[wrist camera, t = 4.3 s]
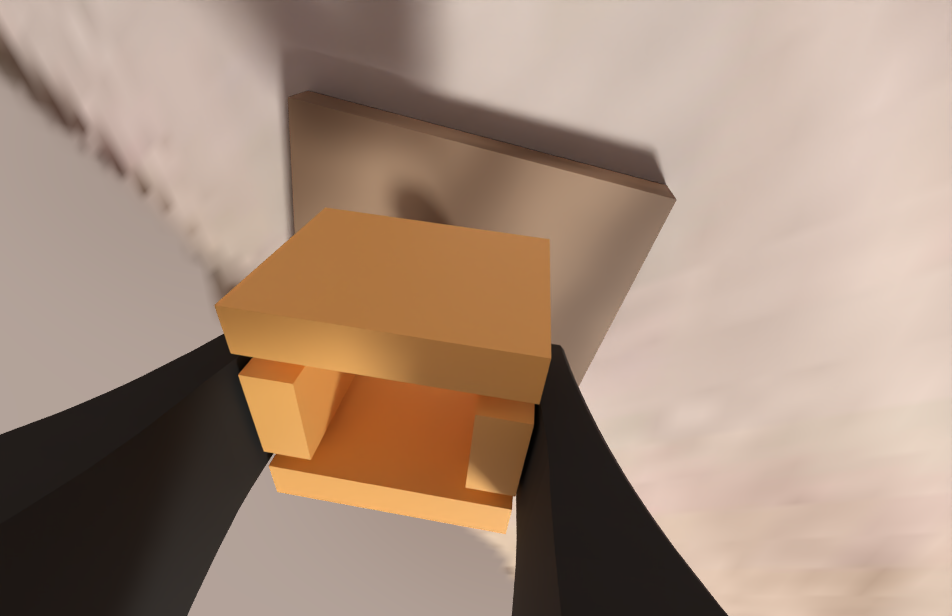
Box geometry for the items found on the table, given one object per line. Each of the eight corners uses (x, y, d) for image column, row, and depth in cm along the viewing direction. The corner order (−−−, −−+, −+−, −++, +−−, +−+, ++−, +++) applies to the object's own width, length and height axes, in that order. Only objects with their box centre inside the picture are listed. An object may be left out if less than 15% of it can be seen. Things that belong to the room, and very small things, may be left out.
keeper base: (666, 185, 16) (711, 251, 12) (575, 368, 22) (581, 458, 17) (307, 90, 16) (216, 120, 11) (312, 301, 22) (253, 374, 17)
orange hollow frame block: (549, 239, 9) (551, 358, 6) (516, 397, 12) (505, 534, 9) (325, 207, 10) (214, 305, 6) (345, 370, 13) (277, 491, 10)
